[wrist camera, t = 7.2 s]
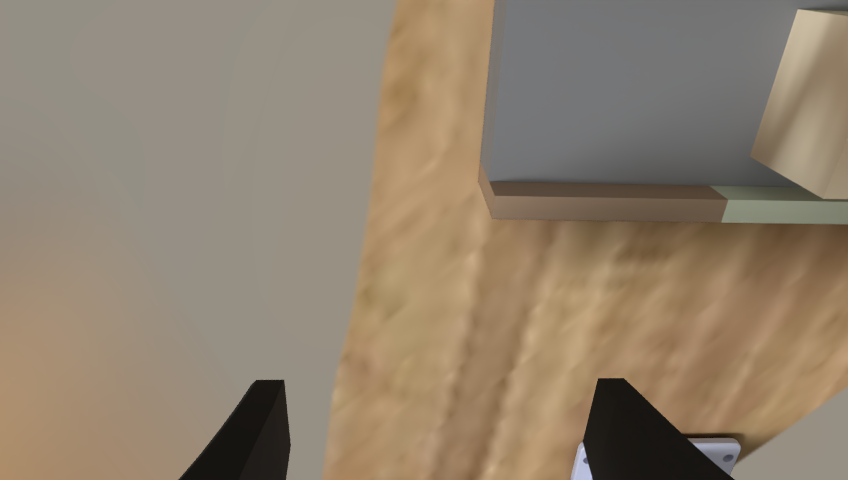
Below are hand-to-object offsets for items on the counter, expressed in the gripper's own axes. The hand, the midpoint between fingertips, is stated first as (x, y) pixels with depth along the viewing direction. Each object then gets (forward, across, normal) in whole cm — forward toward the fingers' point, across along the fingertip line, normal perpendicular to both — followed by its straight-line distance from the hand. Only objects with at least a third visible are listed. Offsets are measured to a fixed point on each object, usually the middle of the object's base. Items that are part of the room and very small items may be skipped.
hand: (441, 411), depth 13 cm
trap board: (+9, -12, -6) cm, 16 cm away
